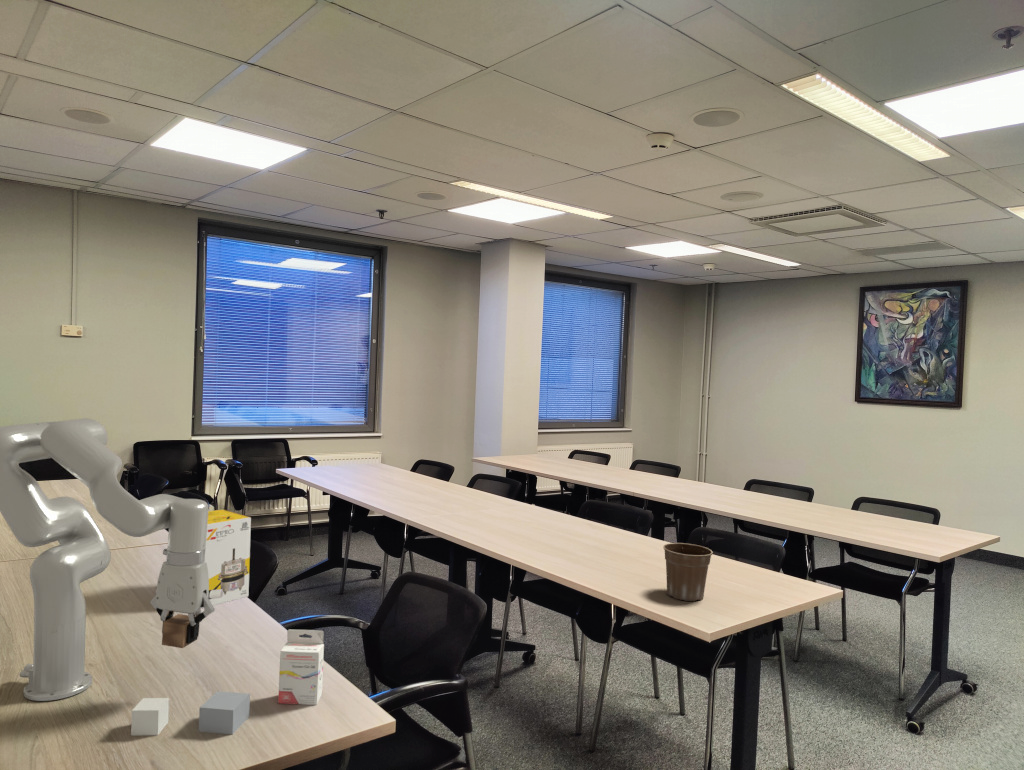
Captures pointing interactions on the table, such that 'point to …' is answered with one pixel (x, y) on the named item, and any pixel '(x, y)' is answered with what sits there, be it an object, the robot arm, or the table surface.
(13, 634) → the table surface
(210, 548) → the packaging box
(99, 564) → the robot arm
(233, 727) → the slate base block
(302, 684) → the ink cartridge box
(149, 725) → the pale grey cube
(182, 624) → the walnut cube
